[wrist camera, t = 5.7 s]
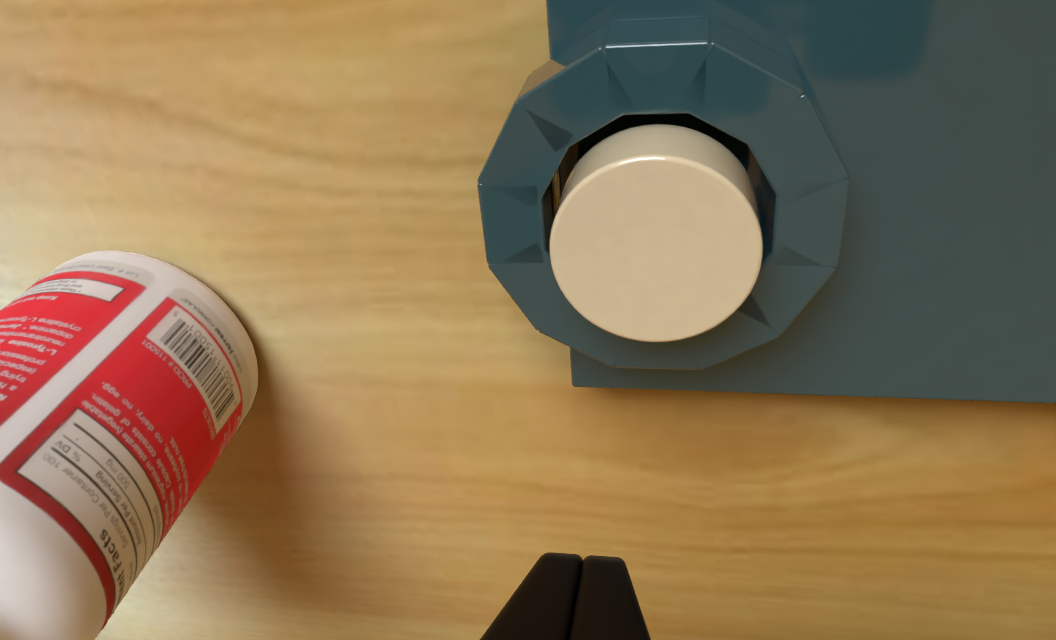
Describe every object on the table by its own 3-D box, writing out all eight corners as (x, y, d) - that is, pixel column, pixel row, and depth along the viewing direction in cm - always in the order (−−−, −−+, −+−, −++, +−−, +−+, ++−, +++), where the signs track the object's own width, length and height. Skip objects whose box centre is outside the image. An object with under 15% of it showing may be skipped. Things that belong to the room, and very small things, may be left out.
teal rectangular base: (529, 352, 21) (507, 430, 18) (484, -90, 15) (445, -63, 13) (1327, 373, 18) (1431, 471, 15) (1621, -171, 12) (1853, -156, 10)
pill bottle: (29, 356, 24) (-383, 719, 15) (77, 197, 20) (-416, 539, 11) (224, 462, 25) (-47, 861, 16) (301, 327, 22) (14, 733, 12)
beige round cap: (565, 298, 17) (555, 341, 15) (553, 124, 15) (540, 158, 13) (751, 300, 16) (756, 347, 15) (764, 119, 14) (771, 154, 13)
